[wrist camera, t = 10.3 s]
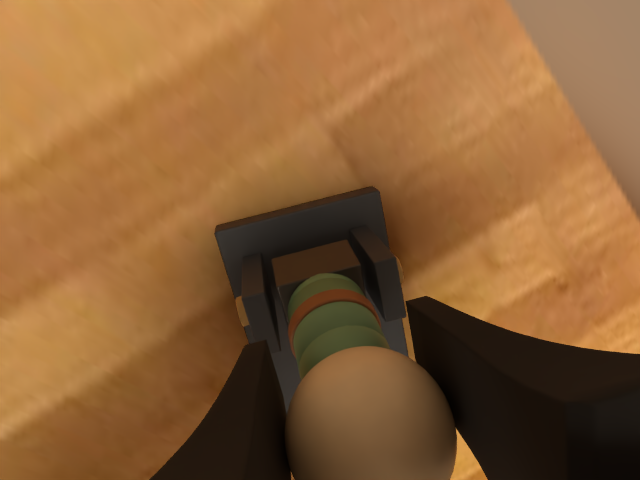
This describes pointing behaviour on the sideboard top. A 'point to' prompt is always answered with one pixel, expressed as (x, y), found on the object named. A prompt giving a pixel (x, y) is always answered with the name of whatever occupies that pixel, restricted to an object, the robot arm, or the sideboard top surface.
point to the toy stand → (298, 235)
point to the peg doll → (355, 381)
